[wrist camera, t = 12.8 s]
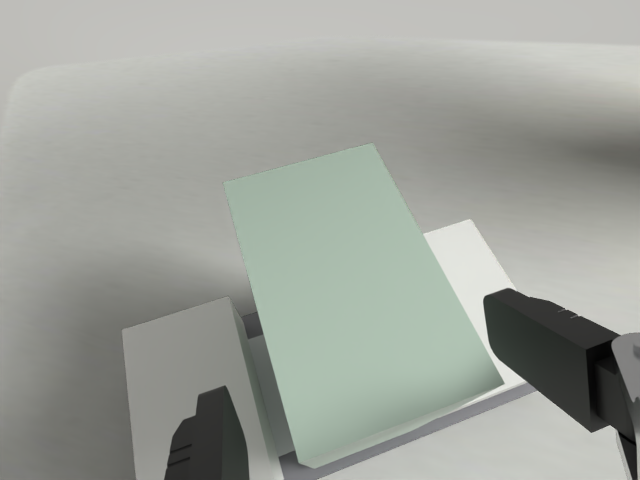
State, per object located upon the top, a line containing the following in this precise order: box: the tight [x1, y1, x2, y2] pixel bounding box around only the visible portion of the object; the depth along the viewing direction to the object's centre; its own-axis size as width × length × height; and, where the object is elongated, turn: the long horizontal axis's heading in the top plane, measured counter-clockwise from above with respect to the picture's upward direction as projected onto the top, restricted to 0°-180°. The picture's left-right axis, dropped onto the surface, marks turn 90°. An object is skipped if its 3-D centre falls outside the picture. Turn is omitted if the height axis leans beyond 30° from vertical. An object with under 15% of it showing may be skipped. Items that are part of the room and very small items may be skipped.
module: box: [223, 142, 505, 469], centre depth 16 cm, size 5×8×12 cm, turn 19°
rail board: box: [122, 219, 537, 480], centre depth 20 cm, size 20×9×6 cm, turn 109°
